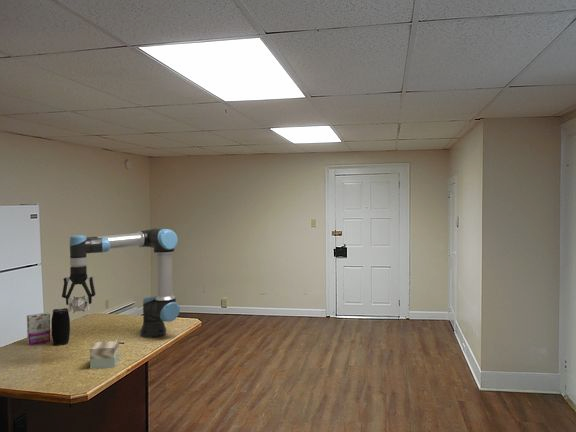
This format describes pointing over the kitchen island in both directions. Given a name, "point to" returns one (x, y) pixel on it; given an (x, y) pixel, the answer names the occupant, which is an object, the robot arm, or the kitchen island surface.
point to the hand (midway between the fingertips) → (79, 310)
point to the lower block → (103, 363)
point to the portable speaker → (60, 326)
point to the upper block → (104, 350)
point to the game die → (78, 304)
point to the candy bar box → (38, 328)
